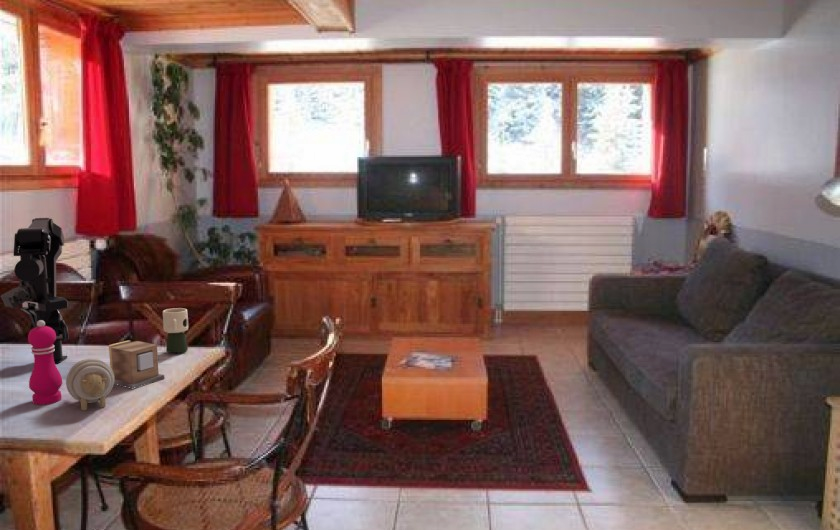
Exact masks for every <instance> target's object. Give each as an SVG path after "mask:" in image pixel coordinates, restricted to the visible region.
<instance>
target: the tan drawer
mask: <svg viewBox="0 0 840 530" xmlns="http://www.w3.org/2000/svg"><path fill="white" fill-rule="evenodd" d="M130 342H132V341H131V340H125V341H120V342H117V343H112V344H109V345H108V353H109V354H108V355H109V366H110V367H111V369H112V371H113V368H112V353H111V348H112V347H115V346H118V345H122V344H126V343H130ZM136 357H137V370H140V371H141V370H144V369H148V368H151V367H153V352H150V351H146V352H142V353H139V354H136Z"/></svg>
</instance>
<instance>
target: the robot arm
mask: <svg viewBox="0 0 840 530" xmlns="http://www.w3.org/2000/svg"><path fill="white" fill-rule="evenodd" d="M53 220H54V219H53V218H50V217H35V218H33V219H32V221H31V224H30V225H29V226H28V227H26V228H25V227H24V228H22V227H21V228H18V229H17V231H16V233H14V240H13V257H19V259H20V260H19V261H18V262H17V263H16V264H15V266H14V271H13V272H14V275H15V276H16V277H17V279H19V281H18V286H16V287H13V288H11V289H10V290H8V291H6V292H4V293H3V294H1V295H0V298H1V300H2V301H3V303H4V306H5V307H6V308H11V309H16V308H18V307H19V309H20V310H21V311H23V312H24V313H26V314H27V315H28V317H29V318H30V320H31V322H30V331H31V330H32V329H34V328H36V327H38V326H37V322H38V321H39V320H43V321H44V322H45V326H47V327H50V328H52V329H53V330H54V331H55V333H56V340H55V341H54V343H53V345H54V346H55V347H54V349H55V351H54V352H53V358H54V363H55V364H60V363H61V362H63V361H64V360H66V359H67V358H68V356H67V355H63V345H62V341H64V342H65V341H66V340H69V339H70V338H69V337H70V336H69V330H68V325H67V324H66V322H65V320H64V319H63V316H62V314H61V313H60V311H59V310H64V309H68V308H69V302H68V299H67V298H65V297H63V296H57V260H58V259H59V257H60V256H61V255H62V253H63V246H65V236H64V233H63V229H62V227H61V226H59V225H57V224H56V223H55V222H54V221H53ZM21 305H22V306H21ZM20 306H21V307H20Z"/></svg>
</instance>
